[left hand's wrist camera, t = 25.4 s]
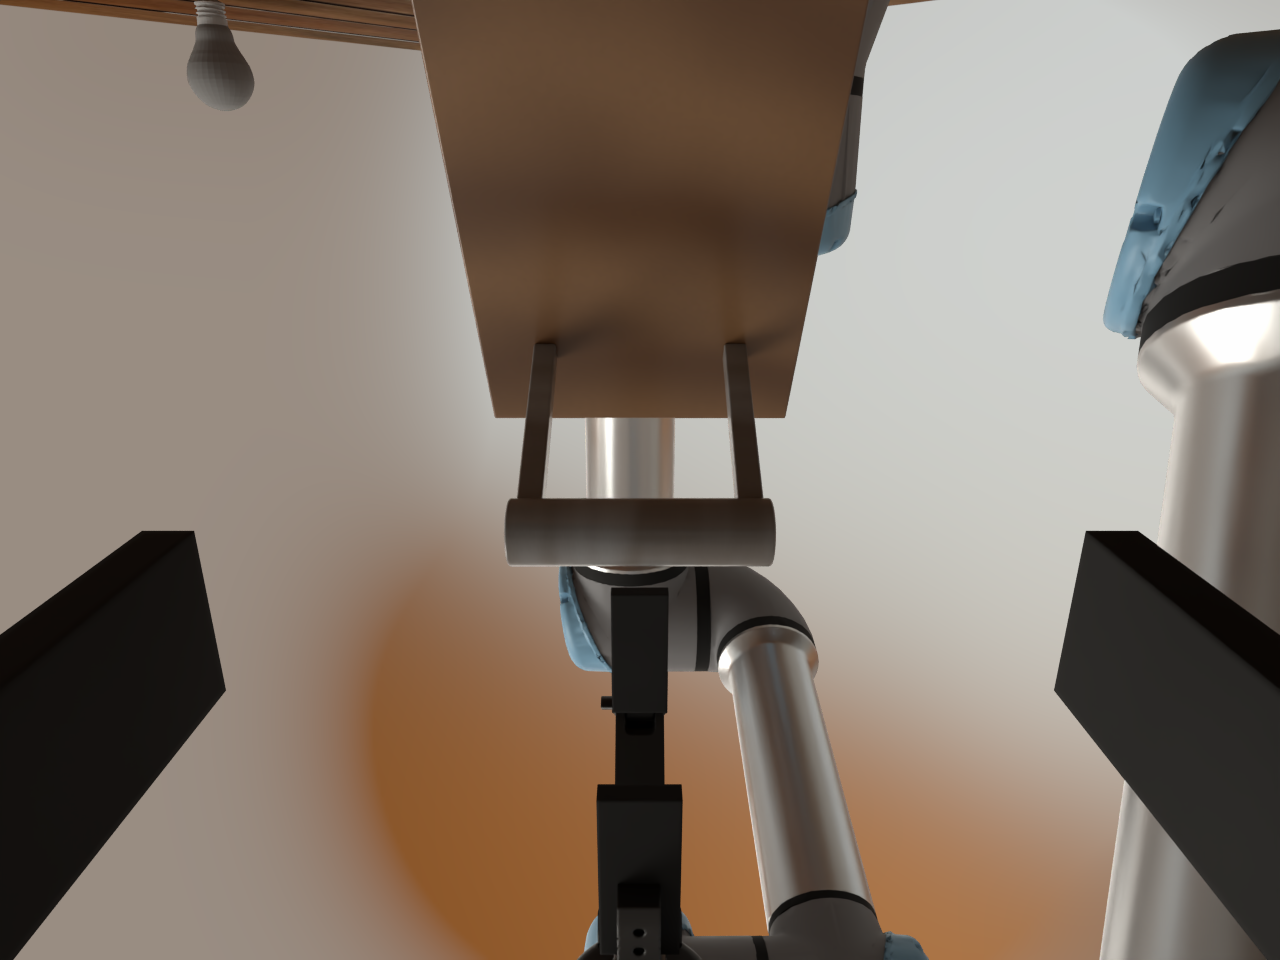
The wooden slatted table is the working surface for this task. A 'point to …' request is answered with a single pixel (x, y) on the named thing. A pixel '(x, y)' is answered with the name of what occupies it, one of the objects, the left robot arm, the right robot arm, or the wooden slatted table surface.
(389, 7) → the wooden slatted table surface
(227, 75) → the light bulb
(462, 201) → the lid
